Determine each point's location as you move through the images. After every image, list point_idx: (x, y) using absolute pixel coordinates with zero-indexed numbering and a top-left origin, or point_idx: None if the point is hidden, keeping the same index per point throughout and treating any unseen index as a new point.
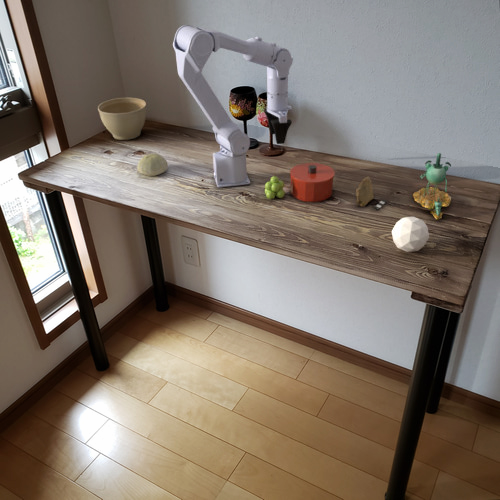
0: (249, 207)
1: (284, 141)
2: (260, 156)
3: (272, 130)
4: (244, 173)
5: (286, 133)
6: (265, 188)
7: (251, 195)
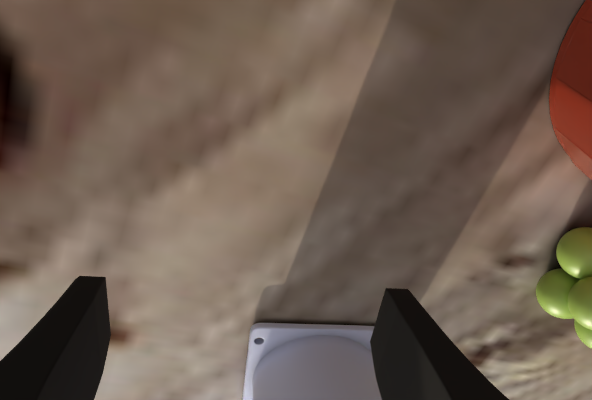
0: (588, 361)
1: (420, 304)
2: (12, 195)
3: (97, 361)
4: (377, 385)
5: (486, 378)
6: (555, 316)
7: (500, 338)
